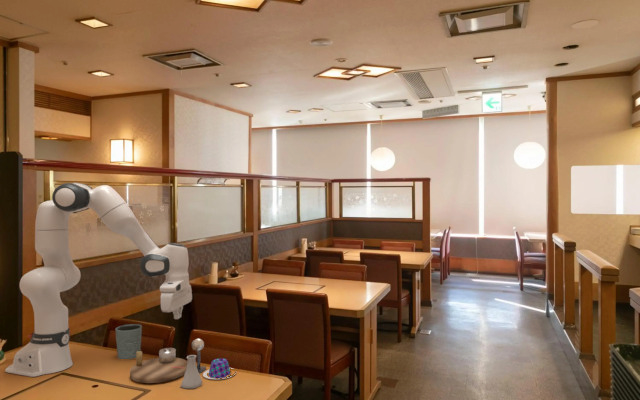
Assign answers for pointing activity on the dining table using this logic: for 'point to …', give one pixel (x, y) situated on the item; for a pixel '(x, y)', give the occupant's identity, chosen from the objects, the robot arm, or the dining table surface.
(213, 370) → the pudding
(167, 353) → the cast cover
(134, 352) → the grey green cup
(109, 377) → the dining table surface
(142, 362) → the turntable
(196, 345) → the grey knobbed rod
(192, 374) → the flask
